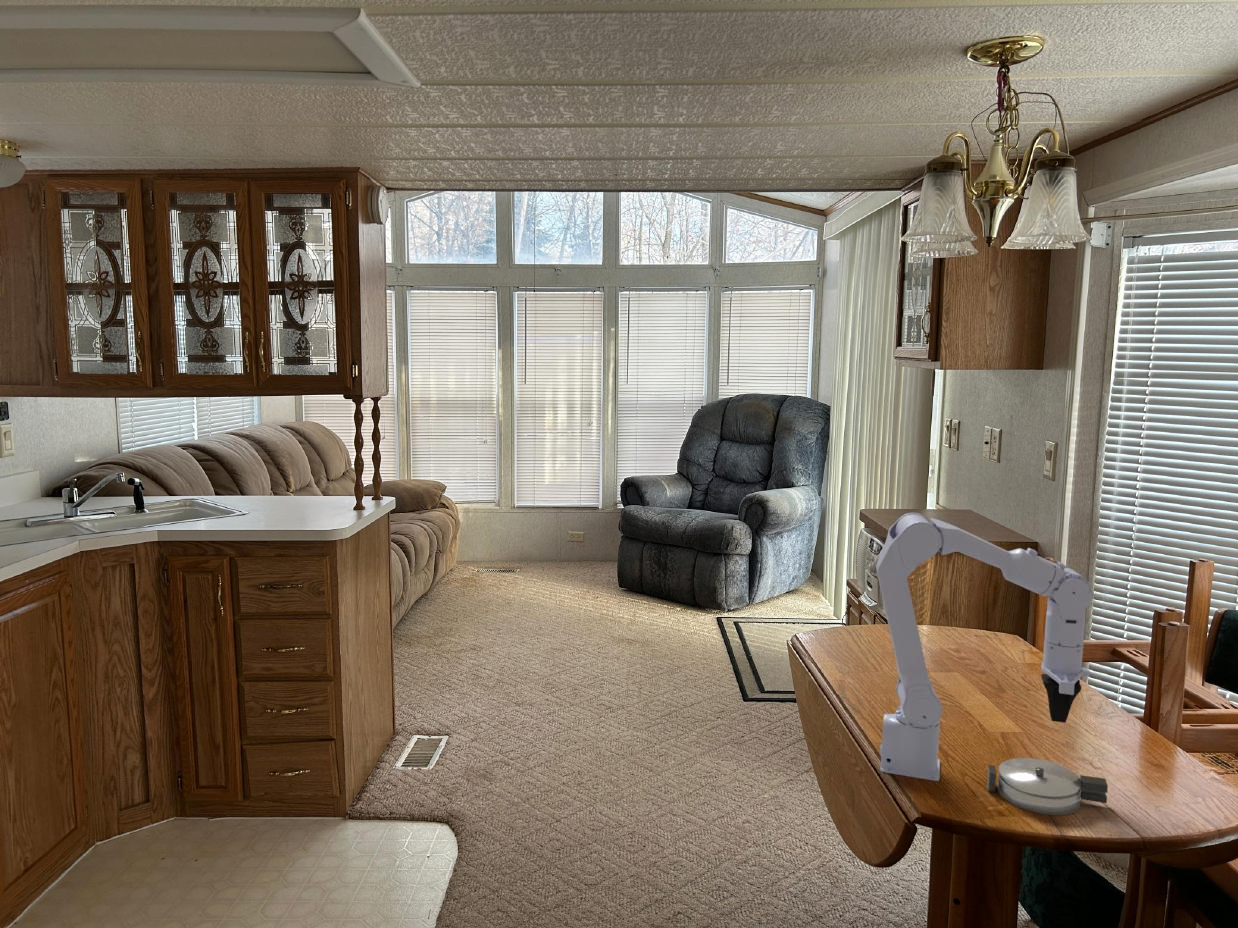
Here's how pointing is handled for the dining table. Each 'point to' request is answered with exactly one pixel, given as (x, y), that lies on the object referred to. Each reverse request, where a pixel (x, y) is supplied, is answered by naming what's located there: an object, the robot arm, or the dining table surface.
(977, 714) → the dining table surface
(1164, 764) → the dining table surface
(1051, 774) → the lid
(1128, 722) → the dining table surface
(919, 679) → the robot arm
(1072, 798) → the pot
